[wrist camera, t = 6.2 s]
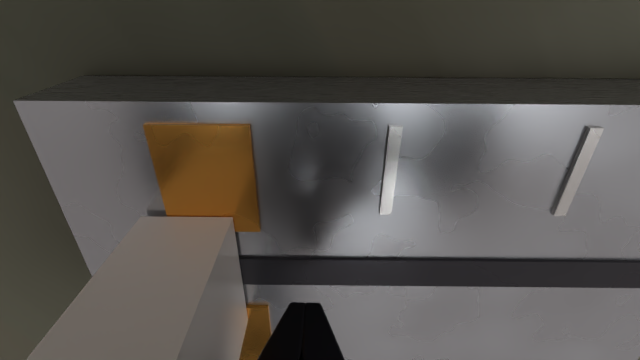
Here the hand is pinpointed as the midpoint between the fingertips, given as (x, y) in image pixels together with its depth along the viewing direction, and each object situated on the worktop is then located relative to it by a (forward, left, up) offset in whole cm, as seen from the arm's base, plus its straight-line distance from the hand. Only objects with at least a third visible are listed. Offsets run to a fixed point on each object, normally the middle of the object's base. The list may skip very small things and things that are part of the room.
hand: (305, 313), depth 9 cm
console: (0, -2, -4) cm, 5 cm away
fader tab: (0, +3, -1) cm, 3 cm away
